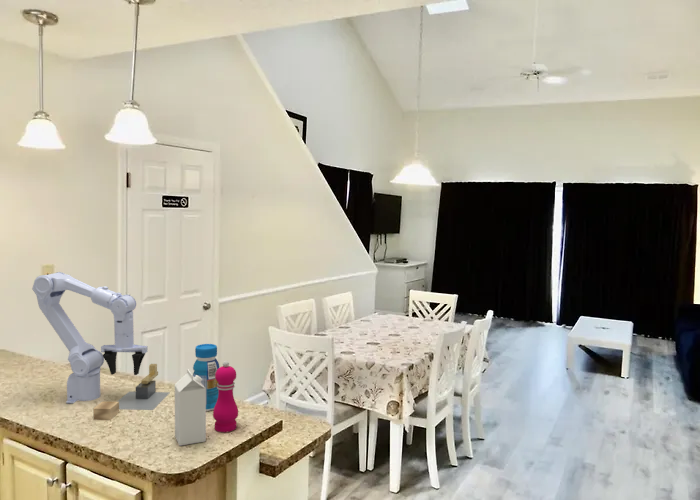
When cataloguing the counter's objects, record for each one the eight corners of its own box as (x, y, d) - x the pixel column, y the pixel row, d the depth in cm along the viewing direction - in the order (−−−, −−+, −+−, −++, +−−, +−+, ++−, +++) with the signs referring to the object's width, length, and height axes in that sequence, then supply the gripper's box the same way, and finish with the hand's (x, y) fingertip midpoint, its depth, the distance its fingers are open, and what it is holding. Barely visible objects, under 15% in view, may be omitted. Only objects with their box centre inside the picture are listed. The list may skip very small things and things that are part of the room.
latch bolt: (141, 384, 180) (141, 371, 179) (152, 374, 190) (152, 362, 189) (147, 384, 180) (147, 371, 179) (158, 374, 190) (158, 363, 189)
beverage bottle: (190, 412, 170) (190, 349, 169) (195, 402, 179) (195, 342, 177) (217, 411, 171) (217, 349, 169) (221, 402, 179) (221, 342, 178)
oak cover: (93, 421, 161) (93, 408, 160) (102, 414, 166) (102, 401, 166) (110, 422, 160) (110, 409, 160) (119, 414, 166) (119, 401, 166)
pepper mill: (225, 435, 154) (225, 366, 152) (207, 429, 158) (207, 361, 156) (243, 426, 160) (243, 360, 158) (225, 421, 164) (225, 356, 162)
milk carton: (179, 446, 146) (179, 377, 145) (174, 436, 152) (174, 370, 151) (206, 441, 149) (205, 374, 148) (200, 432, 156) (200, 367, 154)
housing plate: (108, 412, 169) (107, 396, 169) (129, 394, 185) (129, 379, 184) (152, 413, 169) (152, 397, 168) (170, 395, 185) (170, 380, 184)
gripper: (95, 335, 172) (96, 377, 173) (140, 336, 172) (141, 378, 173) (106, 330, 179) (107, 370, 180) (149, 331, 179) (150, 371, 180)
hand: (124, 373), depth 177 cm, fingers open, 7 cm apart
